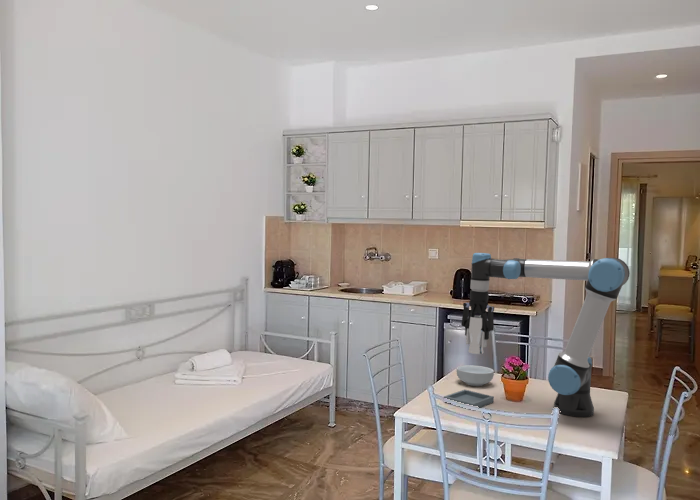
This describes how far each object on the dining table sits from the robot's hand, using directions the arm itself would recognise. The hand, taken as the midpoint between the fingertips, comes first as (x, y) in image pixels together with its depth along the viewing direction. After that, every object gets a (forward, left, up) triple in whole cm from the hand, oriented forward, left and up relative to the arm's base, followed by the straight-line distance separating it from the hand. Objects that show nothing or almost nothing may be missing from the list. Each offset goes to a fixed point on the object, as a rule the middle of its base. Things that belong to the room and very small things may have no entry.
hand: (476, 345), depth 252 cm
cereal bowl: (+15, -25, -24) cm, 38 cm away
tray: (+1, +3, -24) cm, 24 cm away
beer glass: (0, 0, -3) cm, 3 cm away
